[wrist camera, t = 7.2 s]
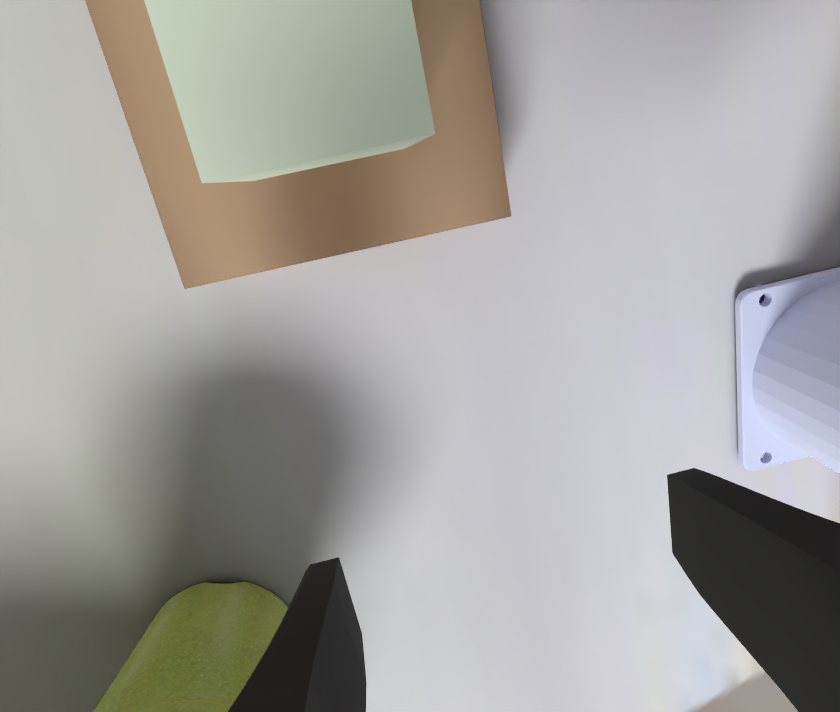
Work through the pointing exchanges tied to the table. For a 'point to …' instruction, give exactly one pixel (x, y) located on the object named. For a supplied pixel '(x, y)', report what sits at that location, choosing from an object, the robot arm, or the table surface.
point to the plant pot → (197, 650)
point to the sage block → (292, 82)
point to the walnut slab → (323, 186)
